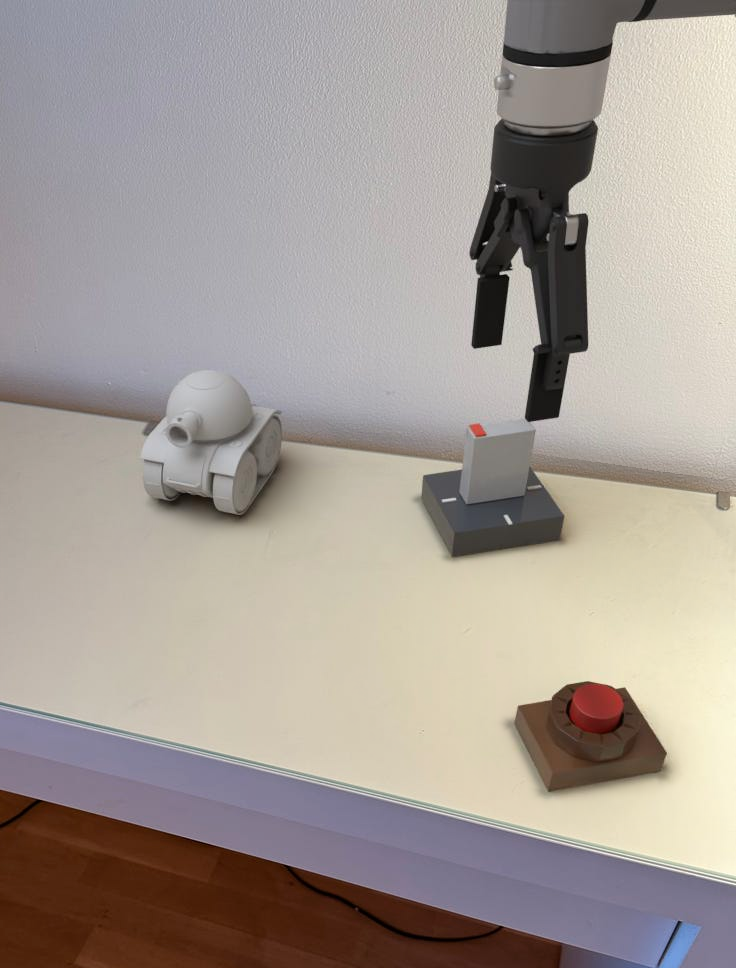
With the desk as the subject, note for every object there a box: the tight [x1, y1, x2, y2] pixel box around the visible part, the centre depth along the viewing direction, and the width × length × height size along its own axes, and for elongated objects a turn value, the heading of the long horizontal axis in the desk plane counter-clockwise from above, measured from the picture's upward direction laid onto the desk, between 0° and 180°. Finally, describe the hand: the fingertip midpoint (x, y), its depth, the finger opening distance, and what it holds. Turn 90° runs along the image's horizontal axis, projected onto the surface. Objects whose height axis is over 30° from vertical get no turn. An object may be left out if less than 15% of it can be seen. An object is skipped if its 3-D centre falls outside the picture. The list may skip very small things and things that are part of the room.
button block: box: [513, 680, 668, 792], centre depth 74 cm, size 9×7×4 cm
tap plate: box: [420, 466, 566, 558], centre depth 96 cm, size 11×10×3 cm
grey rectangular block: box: [459, 417, 536, 504], centre depth 92 cm, size 6×2×8 cm, turn 100°
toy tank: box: [139, 369, 283, 516], centre depth 100 cm, size 15×11×13 cm
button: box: [570, 683, 623, 734], centre depth 72 cm, size 4×4×2 cm
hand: (512, 379), depth 86 cm, fingers open, 13 cm apart
